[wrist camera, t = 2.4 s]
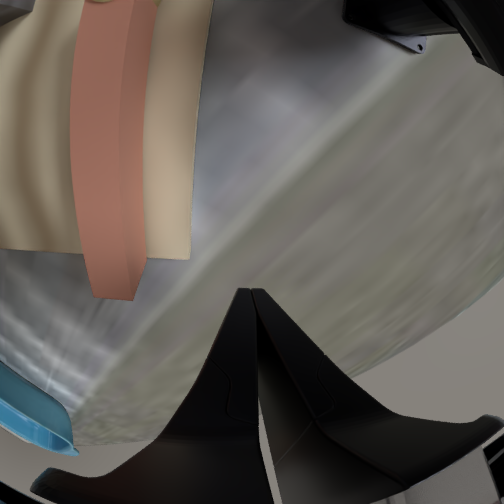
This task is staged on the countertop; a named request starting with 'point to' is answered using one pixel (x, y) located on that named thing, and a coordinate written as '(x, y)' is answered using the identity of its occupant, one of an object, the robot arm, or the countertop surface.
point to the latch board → (58, 125)
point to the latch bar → (111, 140)
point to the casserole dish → (34, 414)
